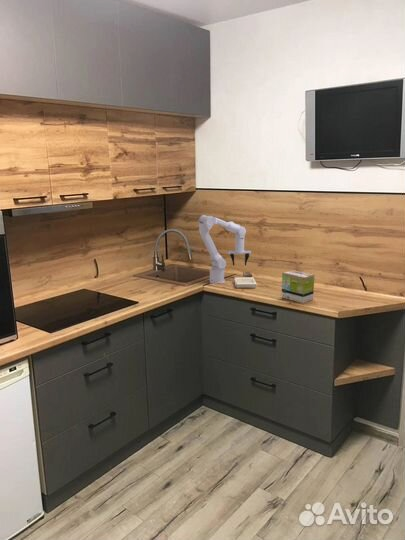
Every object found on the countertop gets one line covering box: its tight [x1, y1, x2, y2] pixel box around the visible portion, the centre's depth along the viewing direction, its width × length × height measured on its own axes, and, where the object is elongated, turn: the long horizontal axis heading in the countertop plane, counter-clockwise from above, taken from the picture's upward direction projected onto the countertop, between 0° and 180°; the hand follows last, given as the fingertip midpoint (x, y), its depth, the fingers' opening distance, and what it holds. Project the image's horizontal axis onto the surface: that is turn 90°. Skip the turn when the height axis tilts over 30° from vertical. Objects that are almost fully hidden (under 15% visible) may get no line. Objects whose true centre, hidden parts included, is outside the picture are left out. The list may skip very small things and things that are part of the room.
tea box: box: [281, 269, 315, 304], centre depth 256 cm, size 15×10×15 cm
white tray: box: [234, 276, 258, 289], centre depth 285 cm, size 12×17×4 cm
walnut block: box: [242, 271, 253, 277], centre depth 298 cm, size 5×8×5 cm, turn 1°
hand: (239, 265), depth 301 cm, fingers open, 7 cm apart
